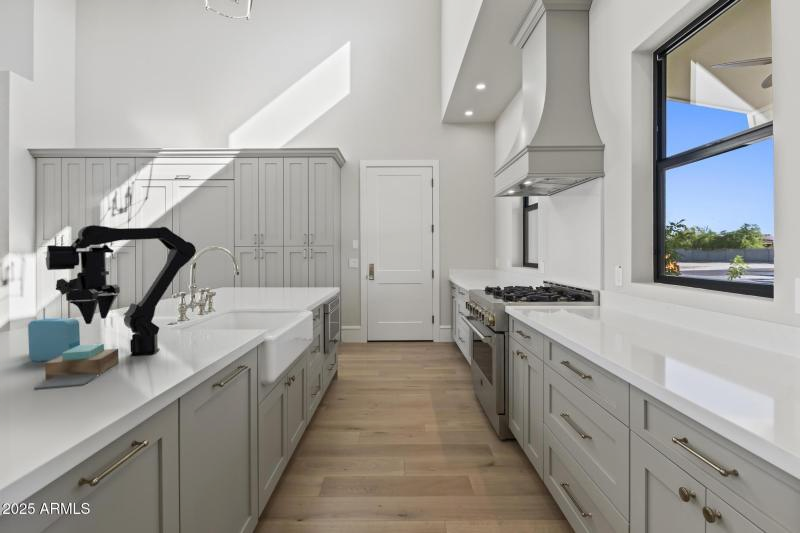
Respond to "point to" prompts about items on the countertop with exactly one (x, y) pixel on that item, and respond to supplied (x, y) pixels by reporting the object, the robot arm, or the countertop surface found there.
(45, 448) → the countertop surface
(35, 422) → the countertop surface
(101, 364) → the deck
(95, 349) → the teal flat block
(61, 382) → the mat
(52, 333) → the data package
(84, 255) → the robot arm
